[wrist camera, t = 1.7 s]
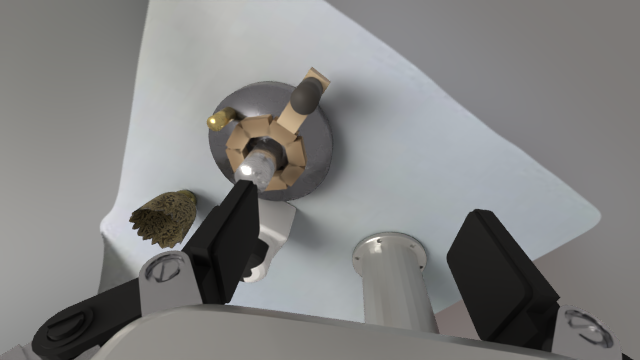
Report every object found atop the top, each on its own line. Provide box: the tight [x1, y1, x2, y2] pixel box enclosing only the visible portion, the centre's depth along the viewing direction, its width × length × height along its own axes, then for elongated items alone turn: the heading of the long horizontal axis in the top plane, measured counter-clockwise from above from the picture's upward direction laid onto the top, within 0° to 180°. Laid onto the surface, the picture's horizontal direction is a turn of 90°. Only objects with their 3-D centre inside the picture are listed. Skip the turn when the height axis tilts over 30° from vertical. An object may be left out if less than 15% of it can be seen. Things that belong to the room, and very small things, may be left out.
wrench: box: [225, 67, 330, 191], centre depth 27 cm, size 16×10×7 cm, turn 145°
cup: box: [129, 190, 197, 249], centre depth 38 cm, size 7×7×8 cm
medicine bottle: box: [239, 198, 296, 282], centre depth 36 cm, size 7×7×12 cm
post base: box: [207, 81, 333, 201], centre depth 30 cm, size 16×16×10 cm
